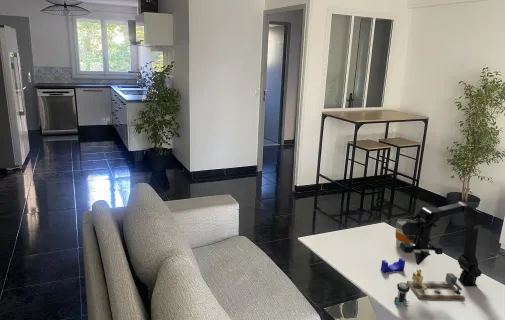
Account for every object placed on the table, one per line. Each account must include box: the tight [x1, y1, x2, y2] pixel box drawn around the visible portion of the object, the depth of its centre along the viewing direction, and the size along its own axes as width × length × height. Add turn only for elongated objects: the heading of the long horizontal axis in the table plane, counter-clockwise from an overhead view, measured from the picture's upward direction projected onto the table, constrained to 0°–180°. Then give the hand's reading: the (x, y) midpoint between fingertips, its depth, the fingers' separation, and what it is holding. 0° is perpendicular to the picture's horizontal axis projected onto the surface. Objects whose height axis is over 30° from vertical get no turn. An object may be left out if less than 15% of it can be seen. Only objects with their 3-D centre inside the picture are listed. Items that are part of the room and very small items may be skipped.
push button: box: [394, 282, 411, 307], centre depth 173 cm, size 7×5×10 cm
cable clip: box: [380, 257, 406, 274], centre depth 202 cm, size 12×4×6 cm, turn 106°
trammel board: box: [406, 280, 466, 301], centre depth 185 cm, size 22×13×3 cm, turn 93°
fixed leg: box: [444, 272, 463, 293], centre depth 185 cm, size 3×10×5 cm, turn 3°
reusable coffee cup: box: [395, 218, 414, 249], centre depth 228 cm, size 13×13×15 cm
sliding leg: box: [411, 268, 427, 292], centre depth 183 cm, size 3×10×7 cm, turn 3°
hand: (417, 264), depth 185 cm, fingers closed
